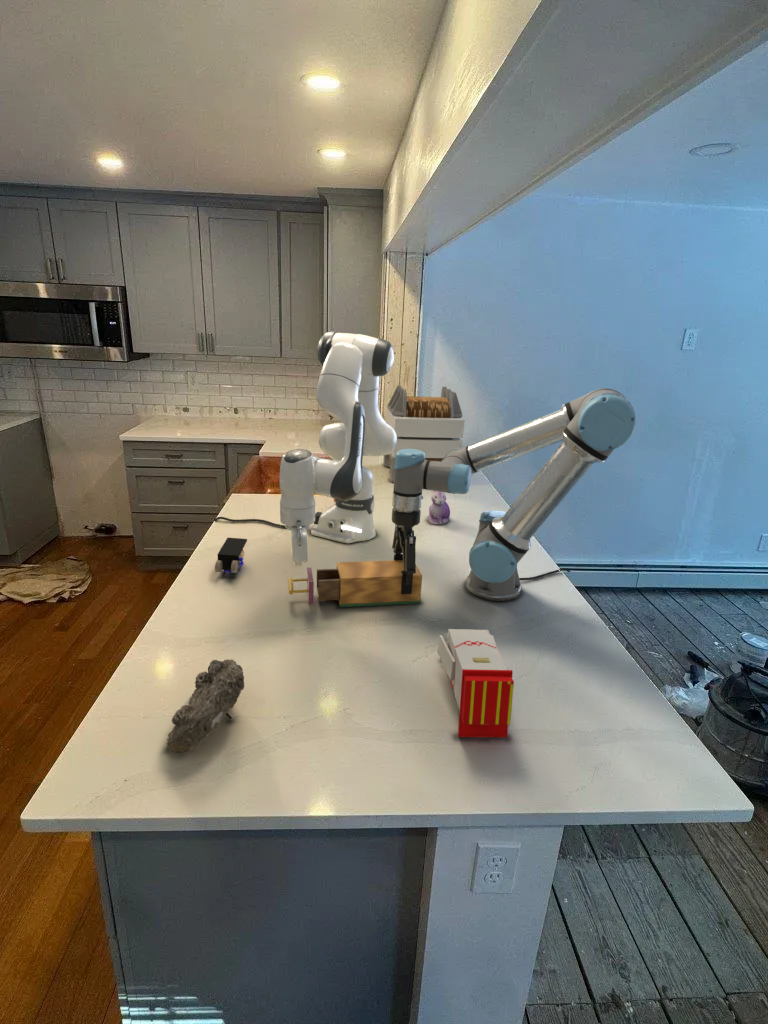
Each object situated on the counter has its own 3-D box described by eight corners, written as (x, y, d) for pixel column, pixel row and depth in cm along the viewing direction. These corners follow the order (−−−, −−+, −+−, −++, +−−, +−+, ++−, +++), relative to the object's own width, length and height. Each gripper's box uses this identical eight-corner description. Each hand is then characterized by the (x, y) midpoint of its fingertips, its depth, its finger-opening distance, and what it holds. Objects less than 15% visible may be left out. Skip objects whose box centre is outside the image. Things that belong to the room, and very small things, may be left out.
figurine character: (238, 584, 162) (249, 557, 175) (236, 562, 158) (247, 536, 172) (215, 584, 161) (227, 556, 175) (212, 561, 158) (225, 535, 171)
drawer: (288, 605, 147) (288, 582, 145) (287, 589, 155) (287, 568, 153) (385, 600, 152) (387, 578, 150) (379, 585, 160) (381, 564, 158)
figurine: (435, 526, 207) (438, 487, 202) (421, 517, 216) (423, 479, 211) (456, 523, 212) (460, 485, 207) (441, 514, 220) (444, 477, 215)
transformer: (382, 463, 289) (386, 382, 275) (445, 464, 293) (451, 384, 279) (390, 482, 257) (394, 392, 243) (460, 483, 261) (468, 394, 247)
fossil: (192, 660, 117) (244, 628, 112) (224, 691, 120) (276, 661, 115) (142, 746, 98) (202, 712, 93) (182, 779, 101) (242, 748, 96)
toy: (488, 613, 130) (523, 677, 101) (484, 667, 133) (517, 744, 104) (435, 612, 130) (455, 676, 101) (432, 666, 133) (451, 743, 103)
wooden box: (340, 607, 149) (340, 578, 146) (335, 589, 158) (336, 562, 156) (420, 603, 153) (422, 575, 151) (411, 586, 163) (413, 559, 160)
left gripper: (313, 529, 135) (313, 581, 139) (307, 501, 153) (307, 548, 158) (286, 530, 133) (287, 582, 138) (284, 501, 152) (284, 549, 157)
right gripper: (431, 523, 139) (425, 603, 146) (410, 494, 160) (405, 566, 167) (402, 524, 137) (397, 605, 145) (384, 495, 158) (380, 567, 166)
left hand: (298, 564), depth 148 cm, fingers closed
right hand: (401, 584), depth 156 cm, fingers closed on wooden box, 10 cm apart
